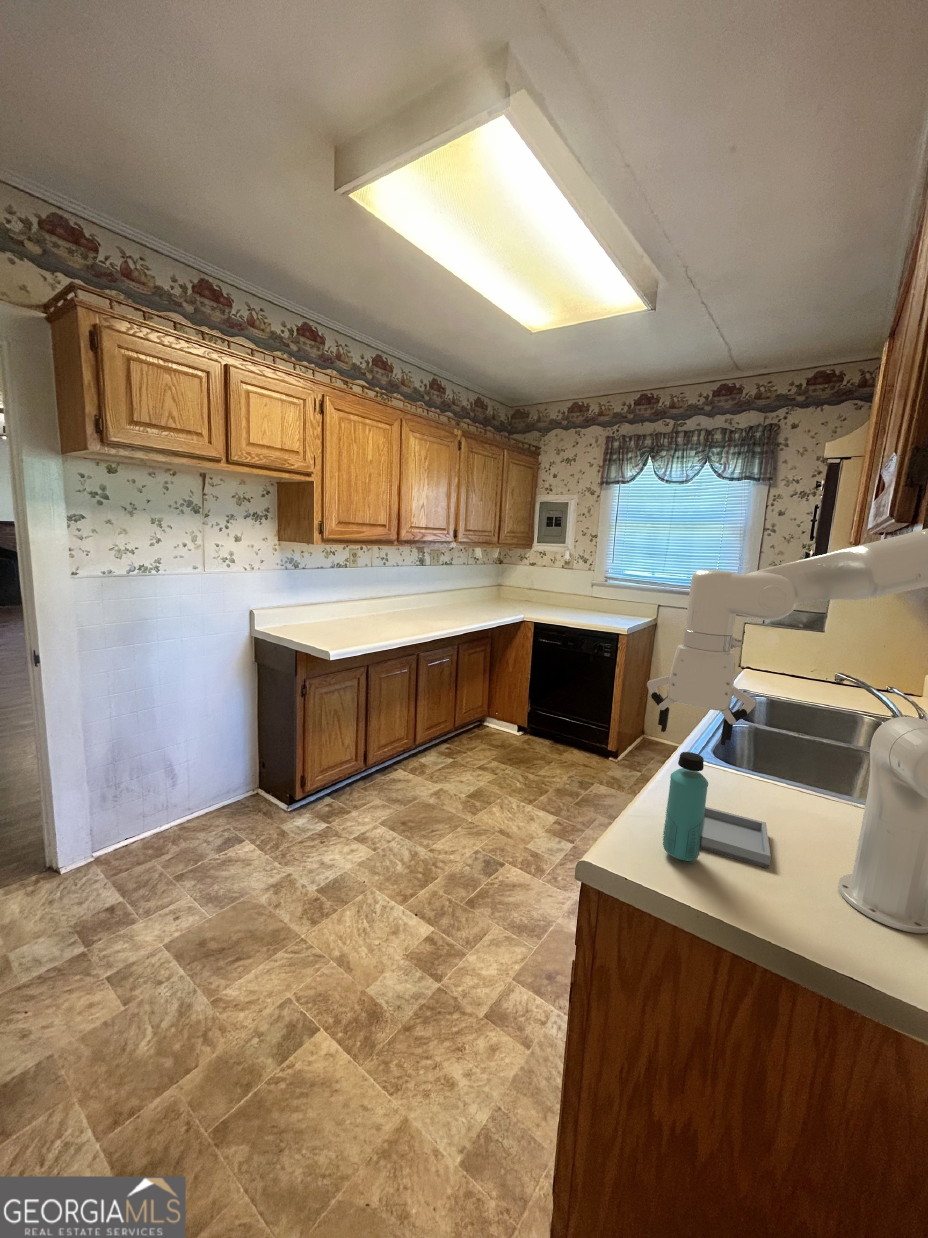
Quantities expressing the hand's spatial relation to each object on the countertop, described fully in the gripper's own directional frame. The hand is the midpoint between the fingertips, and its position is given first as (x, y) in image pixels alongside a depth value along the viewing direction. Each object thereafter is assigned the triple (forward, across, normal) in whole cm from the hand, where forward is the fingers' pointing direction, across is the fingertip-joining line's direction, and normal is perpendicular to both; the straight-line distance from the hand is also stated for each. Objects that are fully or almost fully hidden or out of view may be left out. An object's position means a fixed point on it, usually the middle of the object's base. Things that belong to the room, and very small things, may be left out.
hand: (692, 736), depth 88 cm
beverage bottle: (+24, -1, 0) cm, 24 cm away
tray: (+23, -9, -12) cm, 28 cm away
